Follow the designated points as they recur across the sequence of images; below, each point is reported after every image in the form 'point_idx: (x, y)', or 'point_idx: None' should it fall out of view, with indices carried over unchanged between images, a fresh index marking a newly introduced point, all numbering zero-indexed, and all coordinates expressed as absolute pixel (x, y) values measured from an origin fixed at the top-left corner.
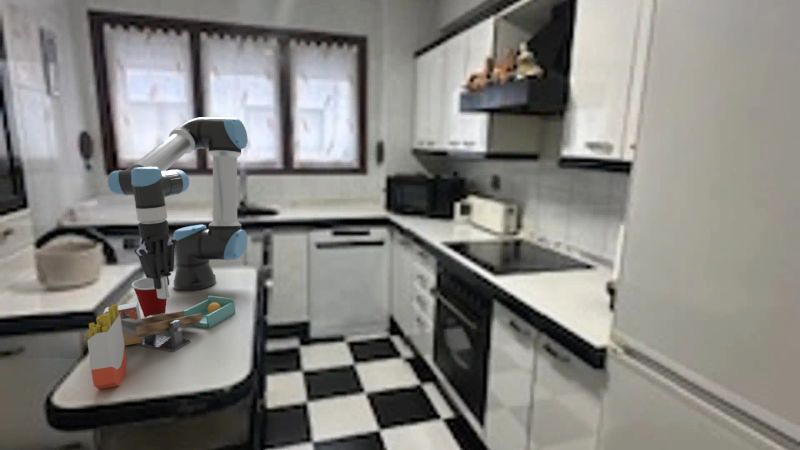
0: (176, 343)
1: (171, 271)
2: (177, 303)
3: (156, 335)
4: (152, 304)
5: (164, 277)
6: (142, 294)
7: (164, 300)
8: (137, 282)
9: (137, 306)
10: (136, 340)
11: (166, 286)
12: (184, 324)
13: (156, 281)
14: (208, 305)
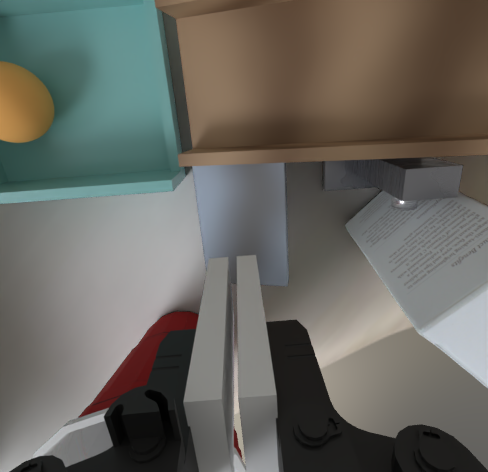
0: None
1: (58, 460)
2: (57, 366)
3: (334, 169)
4: None
5: (222, 399)
6: (234, 436)
7: (145, 353)
8: None
9: (477, 274)
10: None
11: (219, 310)
12: (302, 1)
13: (326, 396)
14: (1, 186)
